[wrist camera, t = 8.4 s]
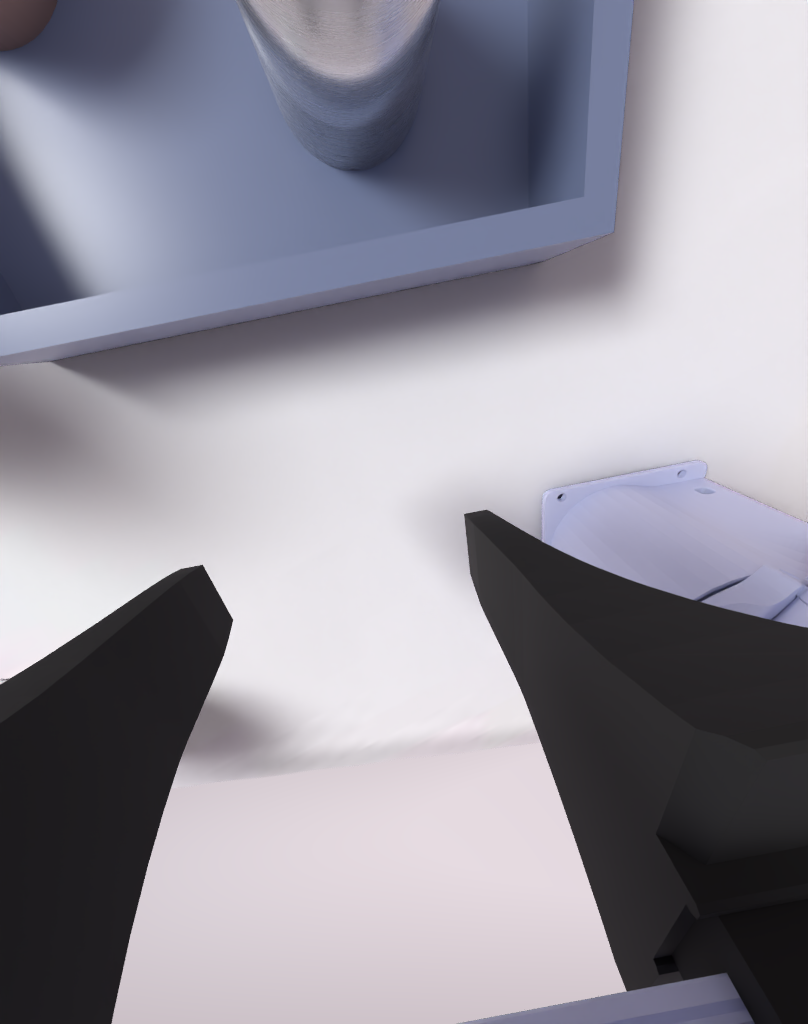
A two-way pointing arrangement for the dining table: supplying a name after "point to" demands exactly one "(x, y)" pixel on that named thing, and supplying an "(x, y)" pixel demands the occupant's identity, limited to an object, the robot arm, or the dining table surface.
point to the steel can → (344, 71)
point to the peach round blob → (23, 21)
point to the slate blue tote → (285, 169)
